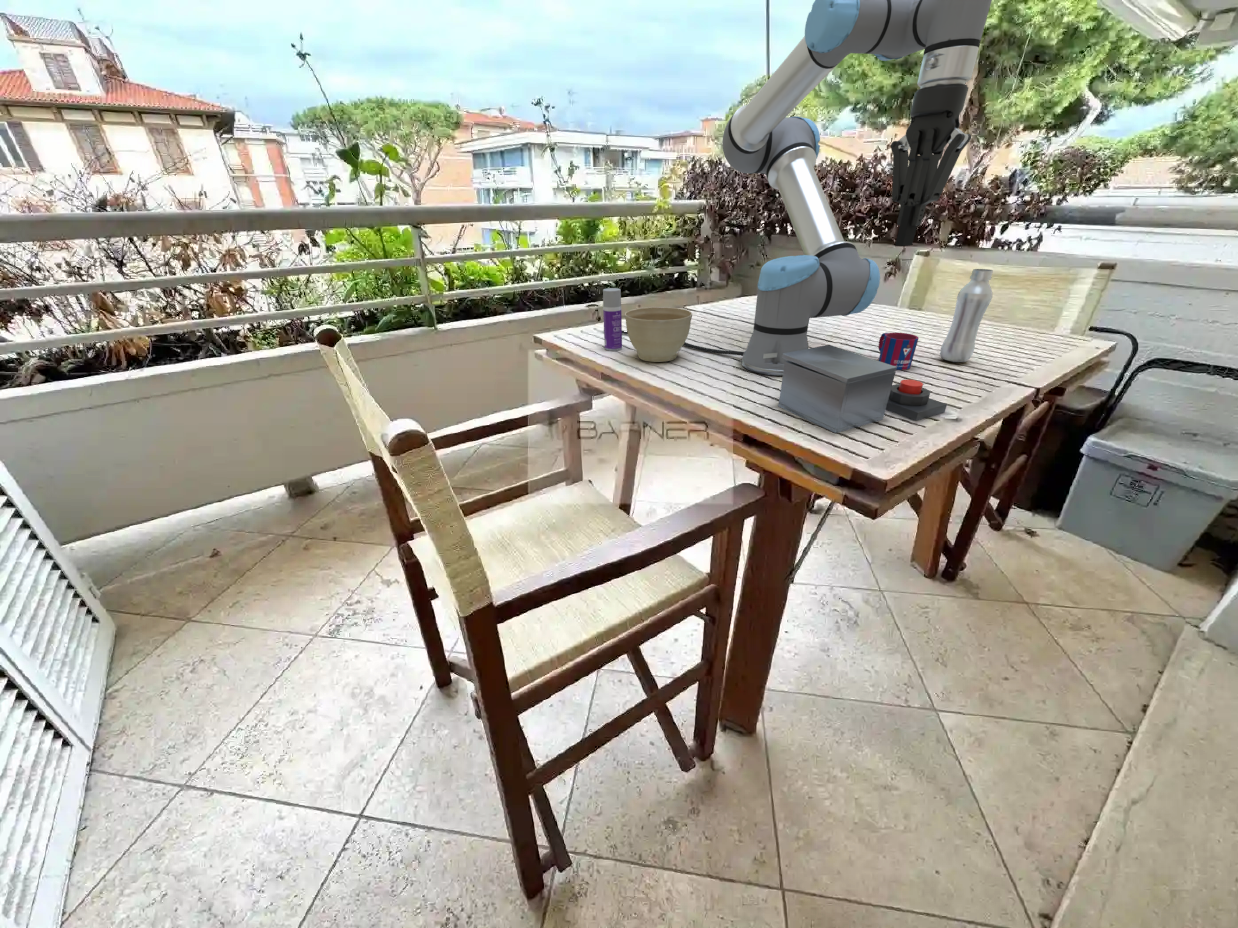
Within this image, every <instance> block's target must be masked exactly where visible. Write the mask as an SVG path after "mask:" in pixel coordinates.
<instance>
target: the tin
mask: <svg viewBox="0 0 1238 928" xmlns="http://www.w3.org/2000/svg"><path fill="white" fill-rule="evenodd" d="M895 376H896V371H895V372H891V373H887V374H883V375H879V376H874V377H870V378H866V379H862V380H858V381H854V382H849V383H845V382H842V381H840V380H837V379H835V378H832V377H829V376H827V375H824V374H822V373H819V372H817V371H814V370H812V369H809V368H807V367H804V366H802V365H799V364H797V363H794V362H792V361H785V364H784V371H783V376H781V385H780V392H779V398H778V405H777V406H778V408H780V409H783V410H785V411H787V412H789V413H791V414H793V415H795V416H798V417H800V418H802V419H804V420H806V421H808V422H810V423H812V424H815V425H817V426H819V427H821V428H823V429H825V430H828V431H829V432H831V433H834V434H838V433H841V432H845V431H848V430H852V429H855V428H856V429H857V428H859V427H862V426H866V425H869V424H873V423H875V422H876V423H877V422H879V421H883V420H884V417H885V413H886V411H887V410H886V406H887V402H888V399H889V395H890V391H891V387H892V385H894V379H895Z"/></svg>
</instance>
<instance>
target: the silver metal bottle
mask: <svg viewBox="0 0 1238 928" xmlns="http://www.w3.org/2000/svg"><path fill="white" fill-rule="evenodd" d="M993 272H994V270H993V269H989V268H972V271H971V275H970V276H969V279H970V281H969V282H967V283H966V285H964V286H963V287H962V288H961V289H960V290H959V292H958V293H957V297H956V301H955V302H956V303H955V309H954V314H953V317H952V321H951V325H950V326H949V330H948V332H947V334H946V337H945V339H943V343H942V344H941V347H940V351H939V355H940V358H941V359H942V360H945V361H948V362H952V363H965V362H968V361H969V360H970V359H971V358H972V356H973V355H974V353H975V348H976V347H975V346H976V340H977V335H978V331H979V328H980V325H981V322H982V320H983V318H984V315H985V314H986V311H987V310H988V307H989V305H990V303H991V301H992V299H993V290H992V287H991V285H990V283H989V281H991V280H992V275H993Z"/></svg>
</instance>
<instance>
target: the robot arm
mask: <svg viewBox="0 0 1238 928" xmlns="http://www.w3.org/2000/svg"><path fill="white" fill-rule="evenodd" d="M992 2H993V0H814V1H813V3H812V5H811V6H812V7H811V10H810V11H809V12H808V14H807V17H806V22H805V26H804V36H803V37H802V39H800V41H799V42H798V43H797V45H796V46H795V47H794V48H793V49H792V51H791V52H790V53H789V54H788V55H787V57H786V58H785V59H784V60H783V62H782V63H781V64H780V65H779V66H778V68H777V69H776V70H775V71H774V72H773V73H772V75H770V77H769V78H768V80H766V81H765V83H764V84H763V86H762V87H761V88H760V89H759V91H758V92H756V94H755V95H754V96H753V98H752V99H751V100H750V101H749V102H748V103H747V104H745V105H742V106H740V107H739V108H738V109H737V110H735V111H734V113H733V115H731V117H730V118H729V120H728V121H727V123H726V125H725V128H724V130H723V134H722V141H721V147H722V152H723V155H724V158H725V160H726V162H727V163H728V165H730V167H731V168H733V170H736V172H739V173H742V174H763V175H765V177H766V179H767V182H768V185H769V186H770V187H771V188H773V189H775V190H778V192H779V194H780V196H781V199H782V202H783V204H784V207H785V210H786V212H787V215H788V217H789V220H790V223H791V225H792V228H793V230H794V233H795V235H796V239H797V241H798V243H799V246H800V249H801V251H802V253H803V254H800V255H789V256H782V257H777V258H773V259H771V260H768V261H767V262H765V263H763V265H762V267H761V269H760V271H759V277H758V282H757V294H756V303H755V304H756V305H755V312H754V319H753V320H754V322H753V330H752V334H751V336H750V338H749V340H748V344H747V346H746V349H745V351H739V350H727V349H726V350H723V349H715V348H709V347H706V346H705V347H704V346H700V345H696V344H693V343H688V342H686V341H685V343H684V344H683V346H684V347H687V348H690V349H693V350H698V351H701V352H707V353H713V354H717V355H719V354H721V355H733V356H741V357H742V358H741V366H742V367H743V368H745V370H748V371H750V372H752V373H756V374H760V375H766V376H776V377H778V376H779V377H783V371H784V364H785V361H789V360H786V359H784V358H782V355H783V353H789V352H794V351H799V350H804V349H809V340H808V329H809V323H810V319H816V318H826V317H827V318H828V317H838V316H839V317H840V316H842V317H847V316H849V315H854V314H855V315H856V314H860V313H861V312H864V311H865V310H866V309H868V307H870V306H871V304H872V303H873V302H874V300H875V299H876V296H877V293H878V290H879V287H880V283H881V273H880V268H879V266H878V264H877V262H876V261H875V260H873V259H870V258H867V257H864V258H861V257H860V254H859V252H858V249H857V248H856V245H855V244H854V243H853V242H851V241H846V240H845V239H844V237H843V234H842V231H841V229H840V228H839V225H838V222H837V220H836V218H835V215H834V213H833V211H832V208H831V206H830V203H829V201H828V199H827V196H826V194H825V191H824V188H823V187H822V185H821V182H820V180H819V176H818V175H817V172H816V170H815V168H814V167H815V166H816V163H817V159H818V156H819V153H820V150H821V149H820V148H821V145H820V144H819V142H820V141H821V135H820V131H819V129H818V126H817V125H816V123H815V122H814V121H813V120H812V119H810V118H807V117H802V116H797V115H796V116H789V117H788V115H790V113H791V112H792V111H793V110H794V109H795V108H796V107H797V106H798V105H799V104H800V103H802V101H803V100H804V99H805V98H806V97H807V96H808V95H809V94H810V93H812V91H813V90H814V89H815V88H816V87H817V86H818V85H819V84H820V83H821V82H822V81H823V80H824V79H825V78H826V77H827V76H828V75H829V74H830V73H831V72H832V71H833V70H834V69H835V68H836V67H837V66H838V65H839V64H840V63H841V62H842V61H844V59H845V58H847V56H849V55H851V54H861V55H874V56H875V57H876V59H878V60H879V61H882V62H887V61H892V60H897V61H898V60H900V59H902V58H903V57H907V56H908V55H912V54H915V53H917V52H921V51H923V55H922V61H921V65H920V68H919V69H920V70H919V74H918V78H917V83H916V85H917V87H919V89H917V90H916V91H915V92H914V95H913V99H912V104H911V110H910V113H909V114H910V115H909V116H910V122H909V125H908V127H907V128H906V130H905V134H904V135H903V136H902V137H901V138H900V139H898V140H893V141H892V142H891V143H890V150H891V153H892V156H893V157H892V186H891V190H892V191H891V200H892V202H895V203H898V204H899V205H900V207H899V211H898V217H897V221H896V222H897V226H899V228H898V232H897V236H896V240H895V247H908V246H913V243H914V241H915V240H914V239H915V235H916V231H917V227H918V226H921V224H922V222H923V220H924V219H923V218H924V215H925V211H926V207H927V205H929V204H931V203H933V202H937V201H939V199H940V198H941V195H942V193H943V191H944V189H945V187H946V185H947V183H948V181H949V178H950V177H951V174H952V172H953V170H954V168H955V166H956V163H957V162H958V160H959V158H960V155H961V153H962V151H963V150H964V149H965V147H966V146H967V145H968V144H969V142H971V139H972V135H971V134H970V133H965V132H963V131H962V130H961V129H960V126H961V122H960V115H961V113H962V112H963V110H964V107H965V103H966V99H967V95H968V92H969V86H968V84H966V83H968V82H970V80H972V77H973V74H974V69H975V65H976V63H977V57H978V53H979V49H980V46H981V42H982V38H983V34H984V30H985V26H986V22H987V19H988V15H989V12H990V8H991V5H992ZM946 146H947V147H946ZM945 148H946V149H945ZM624 331H625V330H622V335H628V333H627V332H624Z"/></svg>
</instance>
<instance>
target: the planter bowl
mask: <svg viewBox="0 0 1238 928" xmlns="http://www.w3.org/2000/svg"><path fill="white" fill-rule="evenodd" d="M624 319H625V328H626V331H627V333H628V334H627V337H628V339H629V341H630V344H631V346H632V347H633V348H634V350H635V351H636V352H637V356H638V359H640V360H642V361H646V362H652V363H661V362H662V363H663V362H670V361H674V360H676V358H677V356H678V353H679V351H680V350H681V349H682V348H683V346H684V345H683V344H684V343H685V342H686V341H687V339H688V336H689V333H690V331H691V325H692V324H691V323H692V319H693V312H692V311H690V310H688V309H685V308H679V307H669V306H668V307H667V306H666V307H665V306H651V307H649V306H647V307H639V308H635V309H630V310H627V311H625V312H624Z"/></svg>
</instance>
